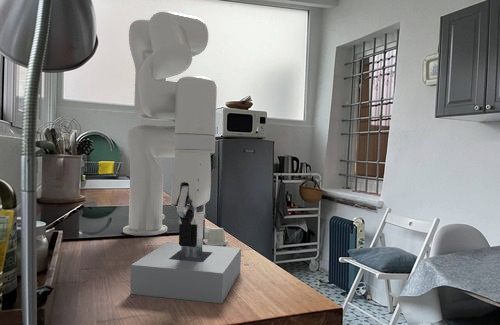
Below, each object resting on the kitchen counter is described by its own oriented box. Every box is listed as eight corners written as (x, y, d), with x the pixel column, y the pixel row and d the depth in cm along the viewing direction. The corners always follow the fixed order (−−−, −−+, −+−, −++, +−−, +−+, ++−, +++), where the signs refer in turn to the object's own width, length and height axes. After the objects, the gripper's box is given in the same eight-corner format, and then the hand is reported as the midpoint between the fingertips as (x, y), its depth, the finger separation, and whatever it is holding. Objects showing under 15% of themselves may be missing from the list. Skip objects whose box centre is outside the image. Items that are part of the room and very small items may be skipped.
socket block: (166, 265, 78) (167, 242, 78) (240, 272, 76) (241, 247, 76) (130, 293, 63) (131, 264, 62) (221, 303, 60) (222, 273, 60)
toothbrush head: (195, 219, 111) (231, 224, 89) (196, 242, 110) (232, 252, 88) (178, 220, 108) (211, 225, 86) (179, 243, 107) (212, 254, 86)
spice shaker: (185, 250, 71) (186, 204, 71) (205, 252, 70) (206, 205, 70) (177, 256, 67) (179, 207, 67) (198, 257, 66) (200, 208, 66)
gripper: (189, 145, 77) (187, 232, 78) (157, 143, 61) (154, 253, 61) (224, 146, 76) (222, 234, 76) (201, 144, 59) (197, 256, 60)
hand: (192, 241), depth 69 cm, fingers closed on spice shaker, 4 cm apart
